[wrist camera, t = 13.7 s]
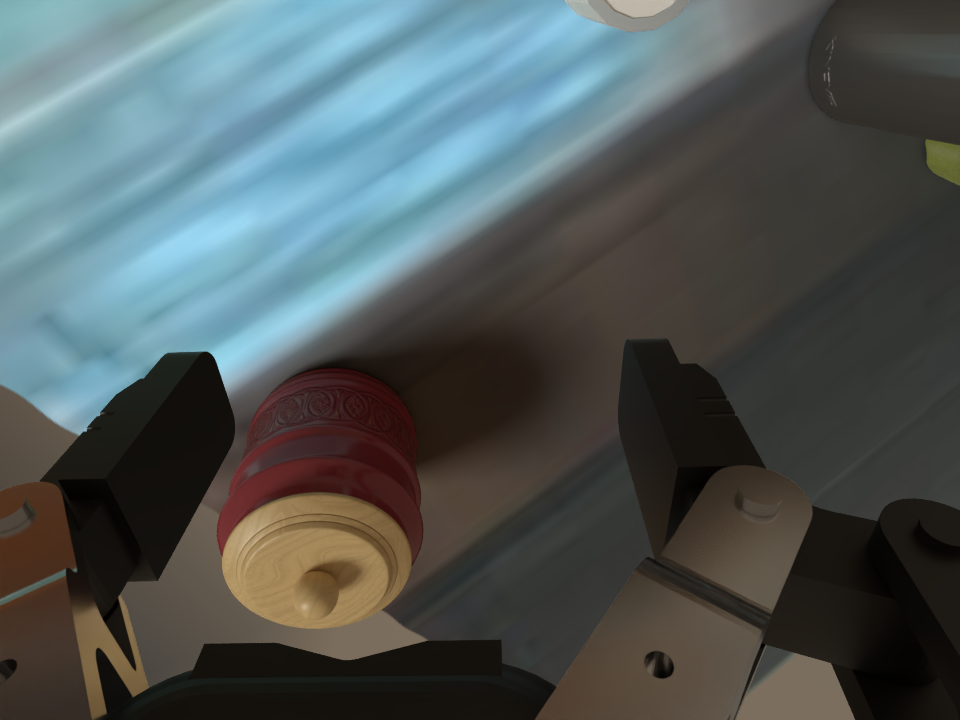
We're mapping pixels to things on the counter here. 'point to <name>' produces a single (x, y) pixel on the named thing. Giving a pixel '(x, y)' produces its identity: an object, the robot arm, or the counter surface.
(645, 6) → the shot glass
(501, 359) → the counter surface
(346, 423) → the canister
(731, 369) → the counter surface
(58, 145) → the counter surface
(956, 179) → the plant pot
